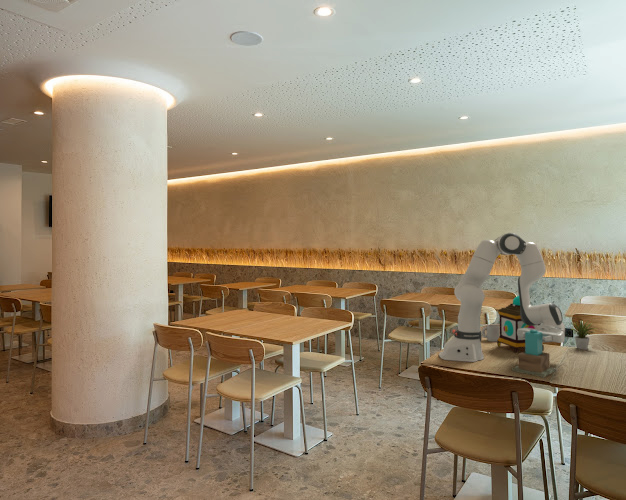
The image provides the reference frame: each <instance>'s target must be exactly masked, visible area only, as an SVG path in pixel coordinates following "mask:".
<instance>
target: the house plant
mask: <svg viewBox="0 0 626 500" xmlns="http://www.w3.org/2000/svg"><path fill="white" fill-rule="evenodd" d="M579 322H580V323H576V322H575V321H573V323H571V325H572V326H573V327H574V328H571V330H572V331H573V335H574V334H577V335H575V336H574V339H575V345H576V349H578V350H588V349H589V343H590V339H591V338H590V337H588V336H591V335H590V334H596V331H593V330H594V329H595V330H596V329H599V328H598V327H596V328H595V327H593V325H592V324H593V322H591V323H589V320H587V321H586V322H585V323H583V321H582V319H580V321H579ZM588 323H589V324H588Z"/></svg>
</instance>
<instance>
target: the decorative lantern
mask: <svg viewBox="0 0 626 500" xmlns="http://www.w3.org/2000/svg"><path fill="white" fill-rule="evenodd" d="M497 313H498V316H499V338H498V340H497V342H496V344H497V347H501V344H503V345H505V346H509V347H511V348H513V349H514V352H515V354H519V353H518V352H519V349H525V338H522V337H519V336H518V335H517V330H518V329H520V328H532V329H536V327H537V326H539V325H541V324H537V325H533V326H529V325H527V324H525V323H524V322H523V321H522V320H521V316H520V299H519V295H517V296H515V297H514V298H513V299H512V303H509V305H507V306H505V307H501V308H499V309H498V310H497ZM544 350H545V346H544V342H542V352H544Z"/></svg>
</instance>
